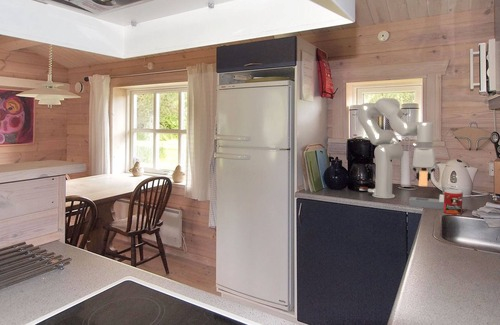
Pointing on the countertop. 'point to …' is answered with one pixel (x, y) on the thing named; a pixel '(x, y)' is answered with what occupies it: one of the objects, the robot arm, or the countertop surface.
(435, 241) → the countertop surface
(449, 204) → the canned food
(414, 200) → the power strip
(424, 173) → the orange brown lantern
